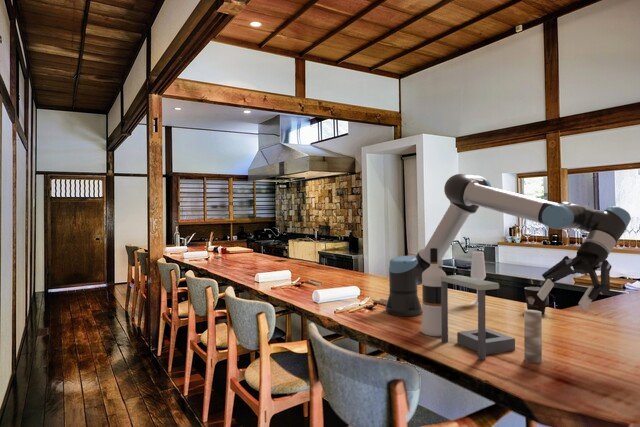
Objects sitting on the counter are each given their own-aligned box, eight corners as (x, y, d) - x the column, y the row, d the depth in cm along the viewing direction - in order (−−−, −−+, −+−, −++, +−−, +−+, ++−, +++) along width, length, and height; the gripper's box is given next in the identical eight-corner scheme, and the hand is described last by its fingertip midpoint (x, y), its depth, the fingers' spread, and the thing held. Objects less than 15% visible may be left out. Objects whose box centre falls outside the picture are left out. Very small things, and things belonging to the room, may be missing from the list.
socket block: (486, 338, 138) (486, 328, 138) (515, 349, 126) (515, 338, 126) (457, 342, 133) (457, 332, 133) (484, 354, 122) (483, 343, 122)
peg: (524, 362, 116) (524, 312, 116) (524, 357, 120) (523, 309, 120) (542, 364, 114) (542, 314, 114) (541, 359, 118) (541, 310, 118)
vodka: (415, 332, 146) (414, 247, 145) (433, 328, 151) (432, 246, 151) (435, 338, 138) (435, 249, 138) (453, 334, 143) (453, 248, 143)
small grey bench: (457, 338, 138) (457, 274, 138) (500, 357, 120) (500, 283, 120) (440, 341, 135) (439, 275, 135) (481, 360, 117) (481, 285, 117)
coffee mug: (520, 310, 177) (520, 287, 177) (539, 309, 178) (539, 286, 178) (536, 317, 165) (536, 292, 165) (557, 316, 166) (557, 291, 166)
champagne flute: (485, 302, 193) (485, 251, 193) (486, 305, 186) (486, 252, 186) (470, 301, 195) (470, 251, 195) (470, 304, 188) (470, 252, 188)
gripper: (645, 261, 115) (609, 320, 110) (564, 253, 139) (531, 301, 133) (632, 243, 113) (595, 302, 108) (553, 238, 137) (518, 286, 131)
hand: (559, 302), depth 121 cm, fingers open, 13 cm apart
